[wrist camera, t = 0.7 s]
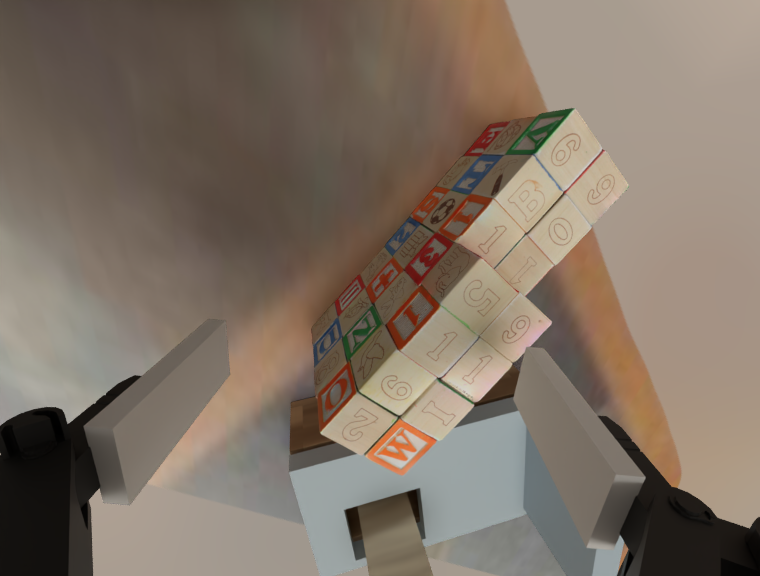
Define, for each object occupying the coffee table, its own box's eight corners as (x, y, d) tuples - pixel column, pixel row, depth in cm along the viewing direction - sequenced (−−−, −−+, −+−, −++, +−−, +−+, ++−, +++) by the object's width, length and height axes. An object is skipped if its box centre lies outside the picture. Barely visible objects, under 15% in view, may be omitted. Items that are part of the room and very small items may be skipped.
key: (346, 442, 33) (403, 781, 15) (387, 431, 34) (490, 744, 16) (355, 485, 35) (414, 827, 17) (394, 474, 36) (491, 794, 18)
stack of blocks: (488, 120, 27) (628, 95, 15) (535, 178, 29) (686, 192, 18) (309, 329, 29) (316, 437, 18) (365, 366, 32) (403, 482, 20)
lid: (289, 455, 26) (285, 597, 17) (538, 390, 29) (635, 484, 20) (320, 560, 30) (328, 713, 22) (532, 494, 33) (610, 606, 25)
